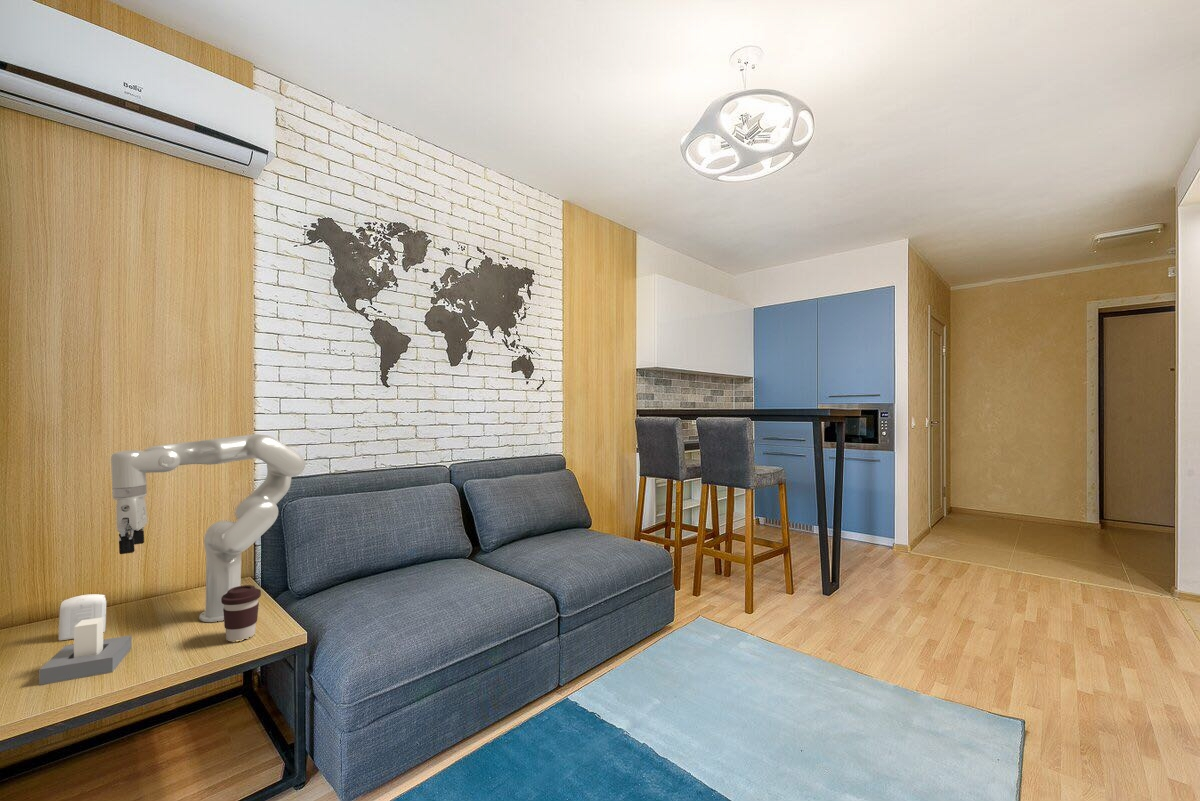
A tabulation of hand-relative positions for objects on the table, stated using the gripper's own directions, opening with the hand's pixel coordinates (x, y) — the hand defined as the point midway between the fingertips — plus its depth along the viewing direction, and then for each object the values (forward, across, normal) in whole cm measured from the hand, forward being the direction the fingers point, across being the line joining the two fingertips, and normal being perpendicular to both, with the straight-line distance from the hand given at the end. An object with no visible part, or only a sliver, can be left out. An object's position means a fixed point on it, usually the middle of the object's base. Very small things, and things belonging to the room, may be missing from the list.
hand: (132, 548), depth 151 cm
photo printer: (+28, +11, +15) cm, 34 cm away
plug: (+28, -13, +7) cm, 31 cm away
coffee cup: (+29, -12, -27) cm, 42 cm away
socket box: (+28, -13, +7) cm, 31 cm away
